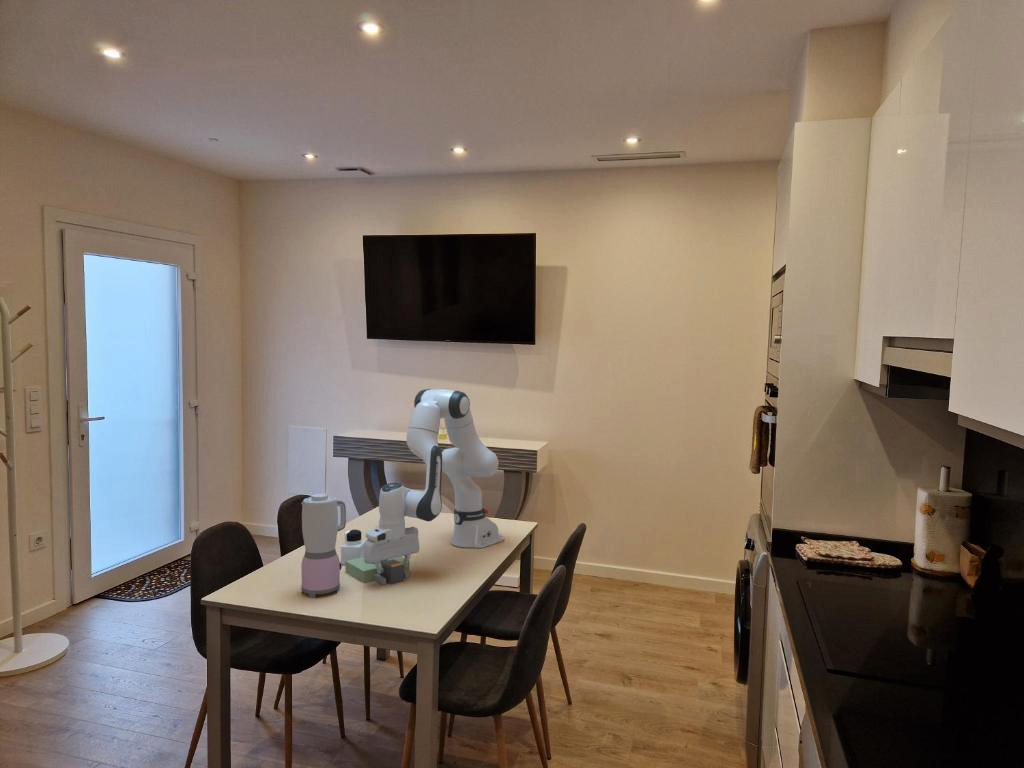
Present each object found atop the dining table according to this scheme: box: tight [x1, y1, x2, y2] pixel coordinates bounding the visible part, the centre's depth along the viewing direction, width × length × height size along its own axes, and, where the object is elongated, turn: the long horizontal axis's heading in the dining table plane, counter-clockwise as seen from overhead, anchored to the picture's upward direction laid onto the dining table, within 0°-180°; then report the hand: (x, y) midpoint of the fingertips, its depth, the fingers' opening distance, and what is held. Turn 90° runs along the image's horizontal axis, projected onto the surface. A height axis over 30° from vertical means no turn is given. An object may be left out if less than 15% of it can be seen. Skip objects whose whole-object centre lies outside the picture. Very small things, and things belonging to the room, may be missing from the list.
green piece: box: [344, 556, 410, 586], centre depth 238 cm, size 18×20×7 cm
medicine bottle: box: [340, 529, 366, 566], centre depth 250 cm, size 7×7×12 cm
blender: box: [300, 493, 347, 599], centre depth 222 cm, size 16×12×32 cm
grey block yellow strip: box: [381, 559, 405, 585], centre depth 232 cm, size 5×7×7 cm
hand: (392, 570), depth 232 cm, fingers open, 8 cm apart
